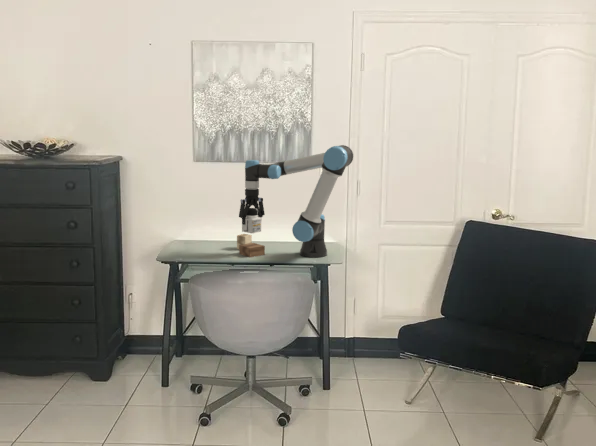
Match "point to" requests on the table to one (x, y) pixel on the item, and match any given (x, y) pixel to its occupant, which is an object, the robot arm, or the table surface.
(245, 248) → the walnut block
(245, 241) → the maple block
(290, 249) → the table surface
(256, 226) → the container
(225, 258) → the table surface
